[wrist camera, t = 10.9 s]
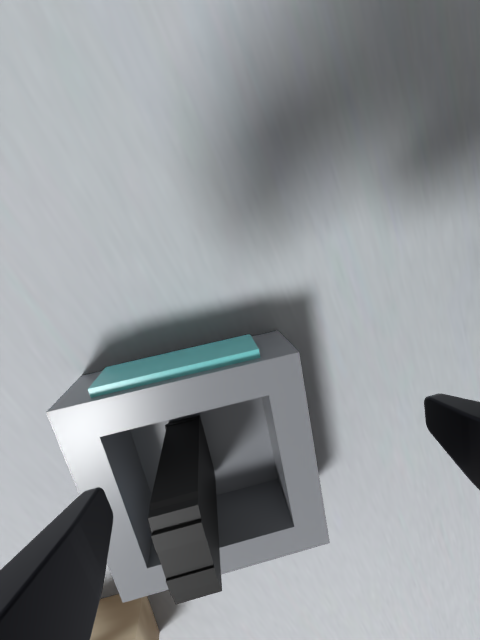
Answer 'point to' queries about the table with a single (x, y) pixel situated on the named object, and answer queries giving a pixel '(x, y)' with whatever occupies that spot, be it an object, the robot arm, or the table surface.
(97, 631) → the wooden block
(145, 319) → the table surface
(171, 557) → the ink cartridge
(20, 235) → the table surface
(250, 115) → the table surface
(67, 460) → the grey square open box
